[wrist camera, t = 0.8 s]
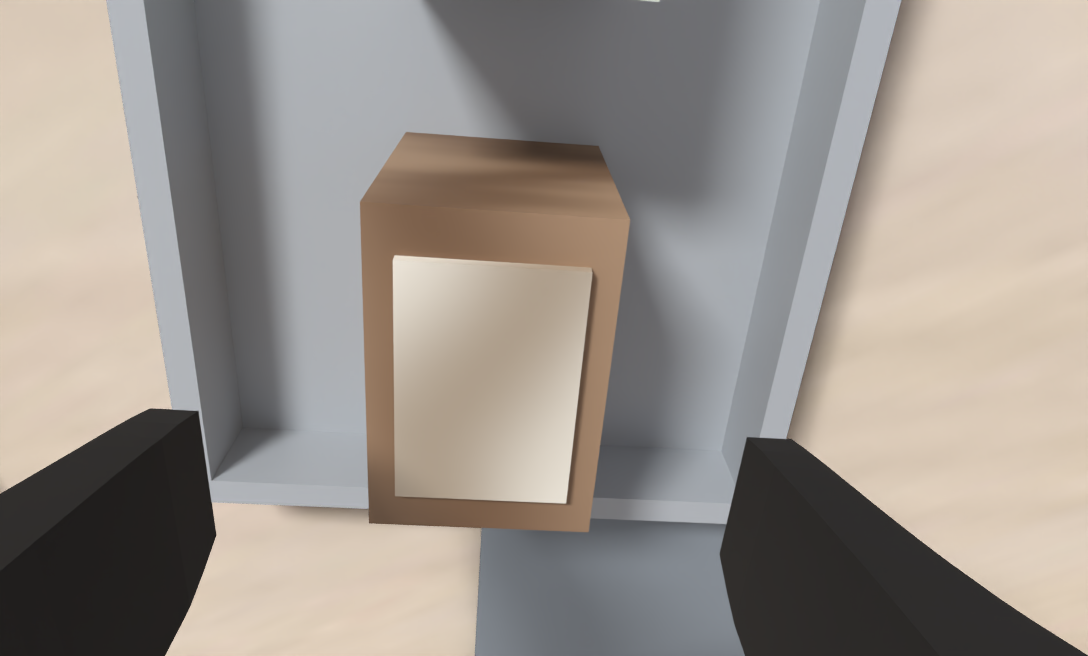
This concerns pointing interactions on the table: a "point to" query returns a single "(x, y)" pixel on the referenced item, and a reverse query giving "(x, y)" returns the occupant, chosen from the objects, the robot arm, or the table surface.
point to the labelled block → (488, 330)
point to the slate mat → (605, 591)
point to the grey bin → (503, 113)
